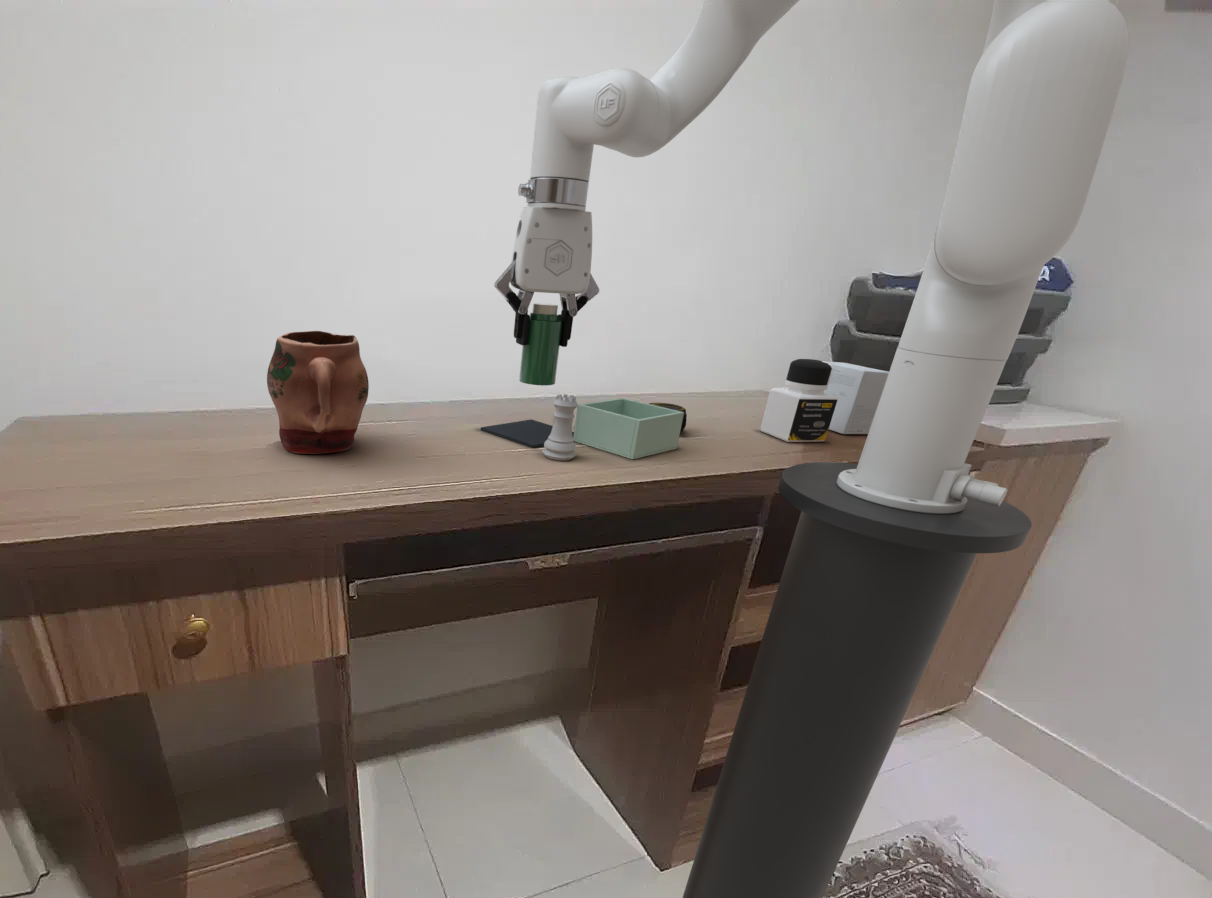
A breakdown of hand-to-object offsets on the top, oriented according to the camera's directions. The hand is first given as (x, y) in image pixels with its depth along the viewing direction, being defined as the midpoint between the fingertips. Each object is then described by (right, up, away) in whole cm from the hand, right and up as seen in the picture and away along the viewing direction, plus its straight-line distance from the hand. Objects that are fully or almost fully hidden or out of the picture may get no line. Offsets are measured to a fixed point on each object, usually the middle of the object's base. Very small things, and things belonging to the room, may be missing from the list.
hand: (541, 343), depth 91 cm
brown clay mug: (-29, -17, -8) cm, 35 cm away
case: (+13, -14, +3) cm, 19 cm away
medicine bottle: (+42, -11, +14) cm, 46 cm away
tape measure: (+21, -10, +12) cm, 26 cm away
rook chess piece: (+2, -17, -4) cm, 18 cm away
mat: (-1, -12, +6) cm, 13 cm away
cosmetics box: (+54, -7, +22) cm, 59 cm away
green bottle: (0, -5, +2) cm, 5 cm away
